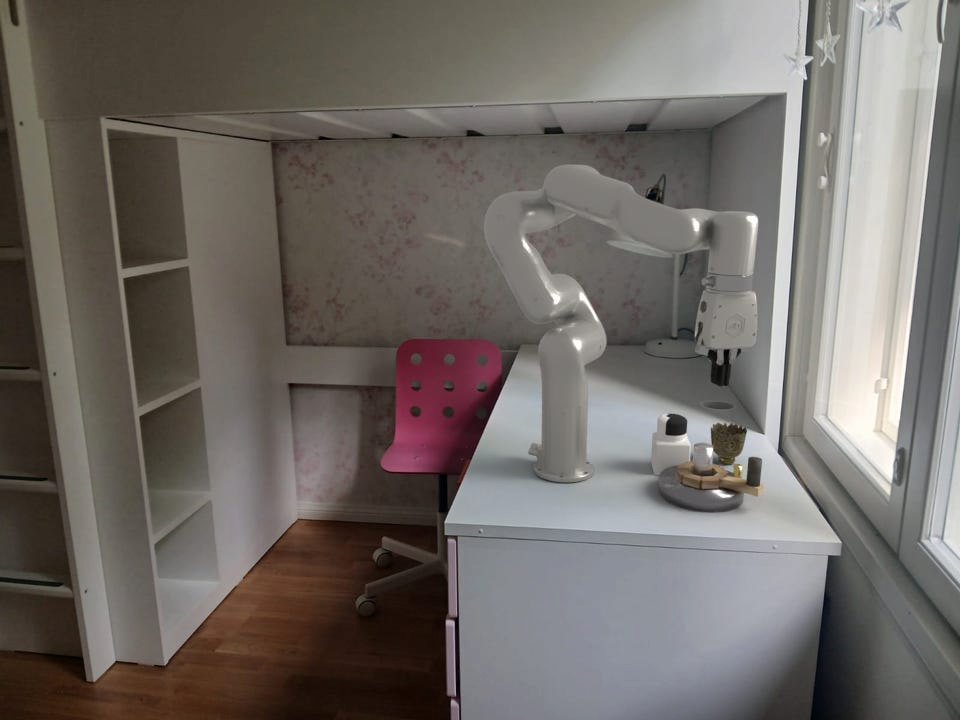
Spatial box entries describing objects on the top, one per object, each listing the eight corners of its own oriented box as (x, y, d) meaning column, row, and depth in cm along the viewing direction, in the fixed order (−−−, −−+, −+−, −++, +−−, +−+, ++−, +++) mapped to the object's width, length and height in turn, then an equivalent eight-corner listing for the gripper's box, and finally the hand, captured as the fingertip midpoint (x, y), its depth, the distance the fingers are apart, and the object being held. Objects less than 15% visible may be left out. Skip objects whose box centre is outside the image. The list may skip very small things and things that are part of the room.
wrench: (667, 479, 141) (669, 447, 139) (689, 465, 148) (691, 434, 146) (750, 503, 131) (753, 468, 129) (769, 486, 137) (772, 453, 136)
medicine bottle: (684, 464, 157) (687, 411, 154) (689, 477, 150) (692, 422, 147) (650, 462, 158) (653, 410, 155) (653, 475, 151) (656, 421, 148)
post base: (643, 496, 142) (645, 447, 139) (681, 471, 153) (684, 426, 151) (722, 520, 131) (726, 468, 129) (756, 492, 143) (761, 444, 140)
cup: (716, 453, 163) (718, 419, 161) (749, 461, 158) (752, 426, 156) (702, 463, 157) (705, 428, 155) (736, 471, 153) (739, 435, 151)
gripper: (704, 288, 121) (695, 393, 126) (779, 285, 125) (767, 386, 130) (679, 281, 128) (672, 381, 133) (752, 279, 132) (741, 375, 137)
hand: (719, 383), depth 131 cm, fingers closed
